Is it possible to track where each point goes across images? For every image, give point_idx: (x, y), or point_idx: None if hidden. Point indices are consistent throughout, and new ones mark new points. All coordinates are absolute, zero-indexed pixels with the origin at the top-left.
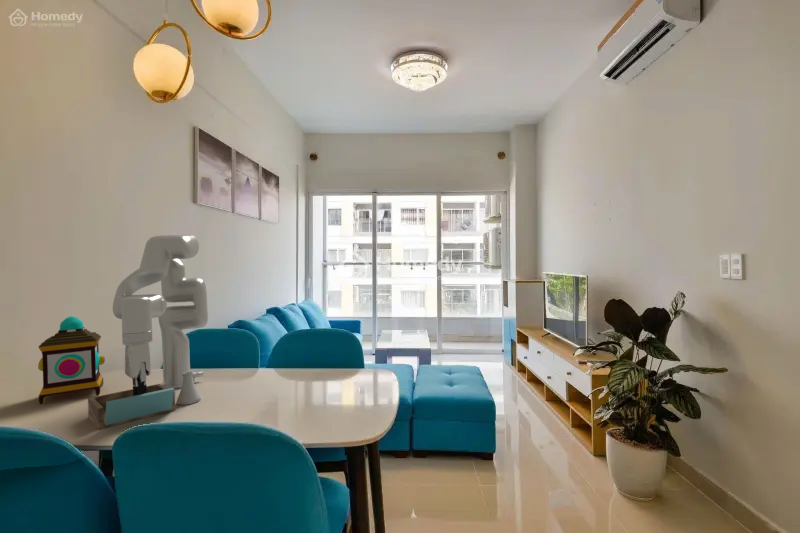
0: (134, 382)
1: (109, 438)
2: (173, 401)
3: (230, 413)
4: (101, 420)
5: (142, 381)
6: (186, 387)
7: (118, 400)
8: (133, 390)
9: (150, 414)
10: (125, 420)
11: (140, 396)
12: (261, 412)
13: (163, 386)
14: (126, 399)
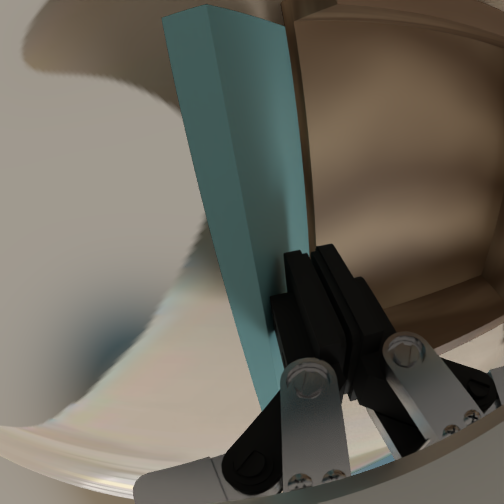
0: (394, 378)
1: (56, 72)
2: None
3: (137, 418)
4: (298, 7)
5: (143, 481)
6: None
7: (200, 134)
8: (345, 303)
9: (311, 248)
10: (302, 133)
11: (235, 315)
12: (109, 442)
13: (472, 337)
14: (208, 212)
